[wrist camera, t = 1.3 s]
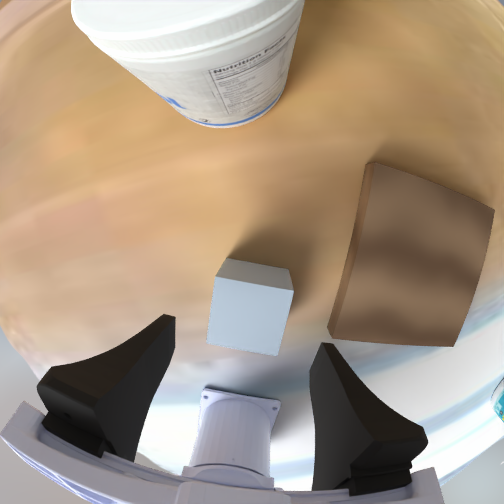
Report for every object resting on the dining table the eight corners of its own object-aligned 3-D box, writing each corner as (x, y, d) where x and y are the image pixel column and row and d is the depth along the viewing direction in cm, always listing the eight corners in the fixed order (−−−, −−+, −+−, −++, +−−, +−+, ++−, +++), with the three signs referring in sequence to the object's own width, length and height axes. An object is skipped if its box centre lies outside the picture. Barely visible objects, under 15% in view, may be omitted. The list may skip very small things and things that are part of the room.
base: (444, 337, 23) (453, 346, 21) (327, 327, 23) (331, 338, 21) (482, 207, 20) (494, 209, 18) (365, 164, 20) (374, 162, 18)
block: (275, 323, 23) (277, 356, 18) (218, 313, 23) (206, 343, 18) (288, 268, 22) (294, 290, 17) (226, 257, 22) (215, 276, 17)
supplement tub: (149, 85, 19) (38, 4, 5) (230, 17, 17) (197, -104, 3) (225, 156, 20) (146, 93, 6) (312, 80, 18) (367, -45, 4)
